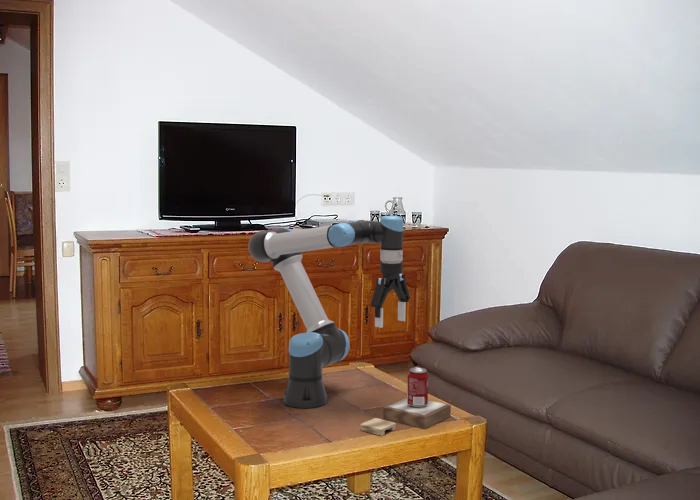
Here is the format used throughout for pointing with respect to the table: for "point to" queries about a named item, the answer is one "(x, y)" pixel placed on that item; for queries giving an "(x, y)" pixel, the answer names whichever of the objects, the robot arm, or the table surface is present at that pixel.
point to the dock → (417, 413)
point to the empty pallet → (377, 426)
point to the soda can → (417, 387)
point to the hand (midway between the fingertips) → (390, 323)
